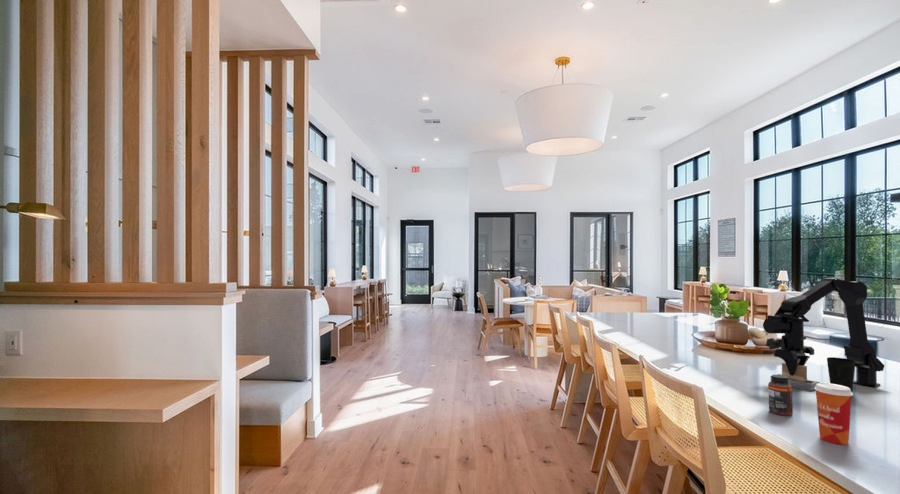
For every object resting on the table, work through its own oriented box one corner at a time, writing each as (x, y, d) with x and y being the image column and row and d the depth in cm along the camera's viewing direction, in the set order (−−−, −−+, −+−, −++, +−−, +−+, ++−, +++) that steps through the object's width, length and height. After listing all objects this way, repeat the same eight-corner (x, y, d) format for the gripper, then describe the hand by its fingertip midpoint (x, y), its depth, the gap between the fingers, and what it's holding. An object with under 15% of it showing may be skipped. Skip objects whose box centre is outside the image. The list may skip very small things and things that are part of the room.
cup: (844, 390, 159) (844, 357, 160) (862, 397, 152) (861, 362, 152) (821, 389, 160) (821, 356, 161) (838, 396, 153) (837, 361, 153)
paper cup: (807, 434, 118) (806, 382, 118) (833, 434, 118) (832, 382, 119) (835, 447, 110) (834, 391, 110) (863, 446, 111) (862, 390, 111)
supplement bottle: (788, 411, 137) (787, 374, 137) (796, 417, 131) (795, 379, 132) (765, 408, 139) (765, 372, 139) (772, 414, 133) (772, 377, 133)
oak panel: (785, 380, 170) (785, 362, 170) (807, 385, 164) (806, 366, 164) (782, 381, 168) (781, 363, 169) (804, 385, 162) (803, 366, 163)
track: (779, 380, 173) (779, 373, 173) (819, 388, 162) (819, 381, 162) (770, 382, 170) (770, 376, 170) (811, 391, 158) (811, 384, 159)
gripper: (781, 328, 178) (781, 367, 178) (758, 332, 169) (758, 373, 168) (814, 332, 169) (815, 373, 168) (792, 336, 159) (792, 379, 159)
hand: (794, 374), depth 166 cm, fingers open, 4 cm apart
